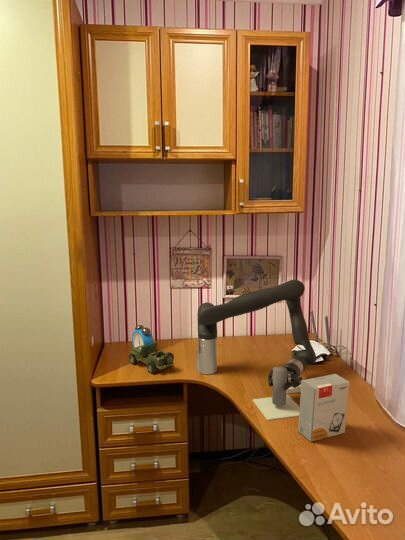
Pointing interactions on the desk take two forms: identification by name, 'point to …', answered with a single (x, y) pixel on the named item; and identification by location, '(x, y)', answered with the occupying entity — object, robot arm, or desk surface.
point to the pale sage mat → (277, 408)
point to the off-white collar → (294, 390)
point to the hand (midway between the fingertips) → (277, 386)
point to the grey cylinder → (279, 386)
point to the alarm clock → (142, 336)
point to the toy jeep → (151, 357)
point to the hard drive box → (323, 407)
